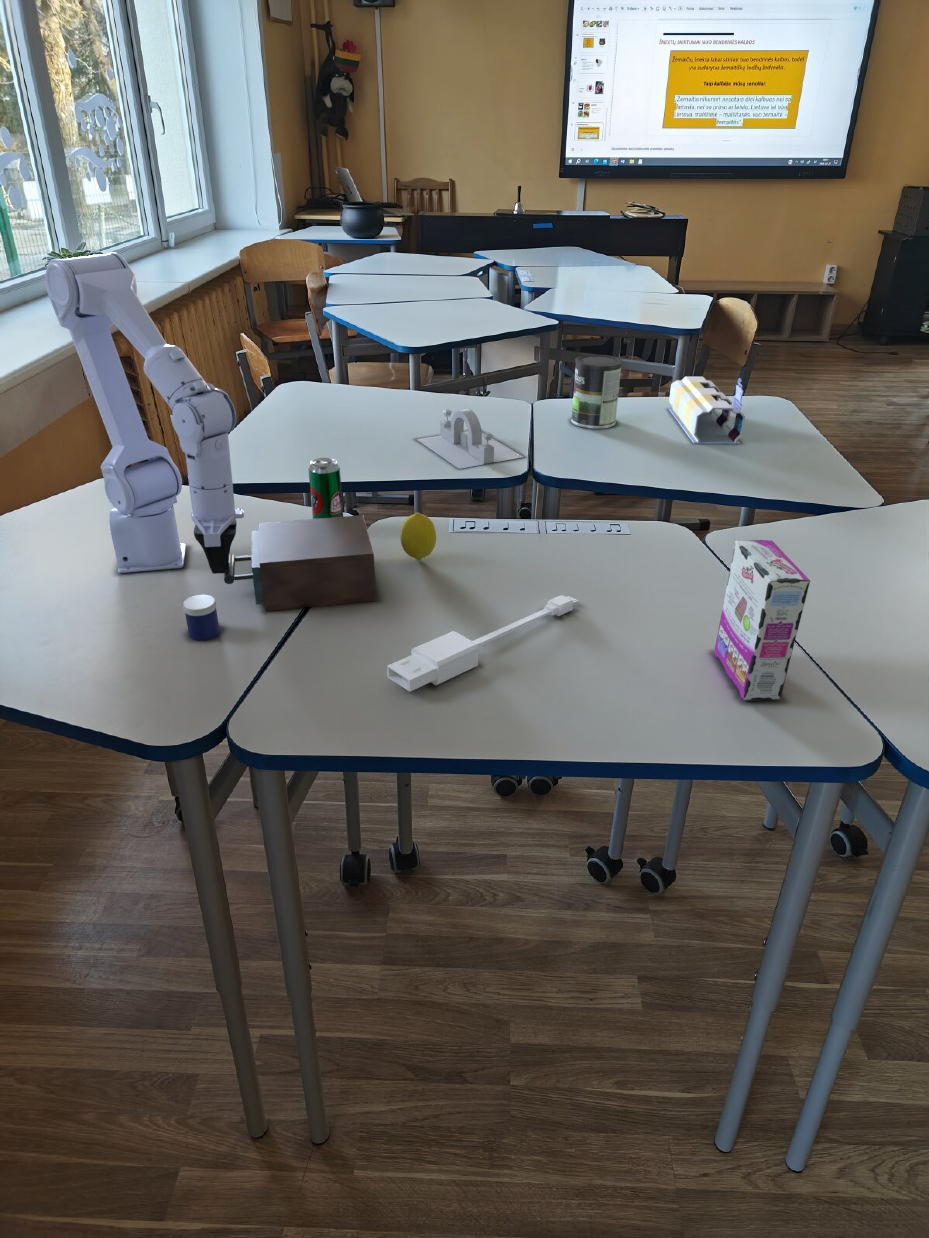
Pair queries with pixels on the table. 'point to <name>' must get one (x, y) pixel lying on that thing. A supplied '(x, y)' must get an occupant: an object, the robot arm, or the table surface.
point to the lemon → (418, 536)
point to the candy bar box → (760, 619)
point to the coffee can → (596, 391)
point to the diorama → (706, 411)
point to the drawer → (256, 572)
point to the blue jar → (201, 617)
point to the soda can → (325, 488)
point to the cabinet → (316, 562)
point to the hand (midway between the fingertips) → (220, 571)
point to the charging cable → (458, 651)
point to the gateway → (467, 442)
